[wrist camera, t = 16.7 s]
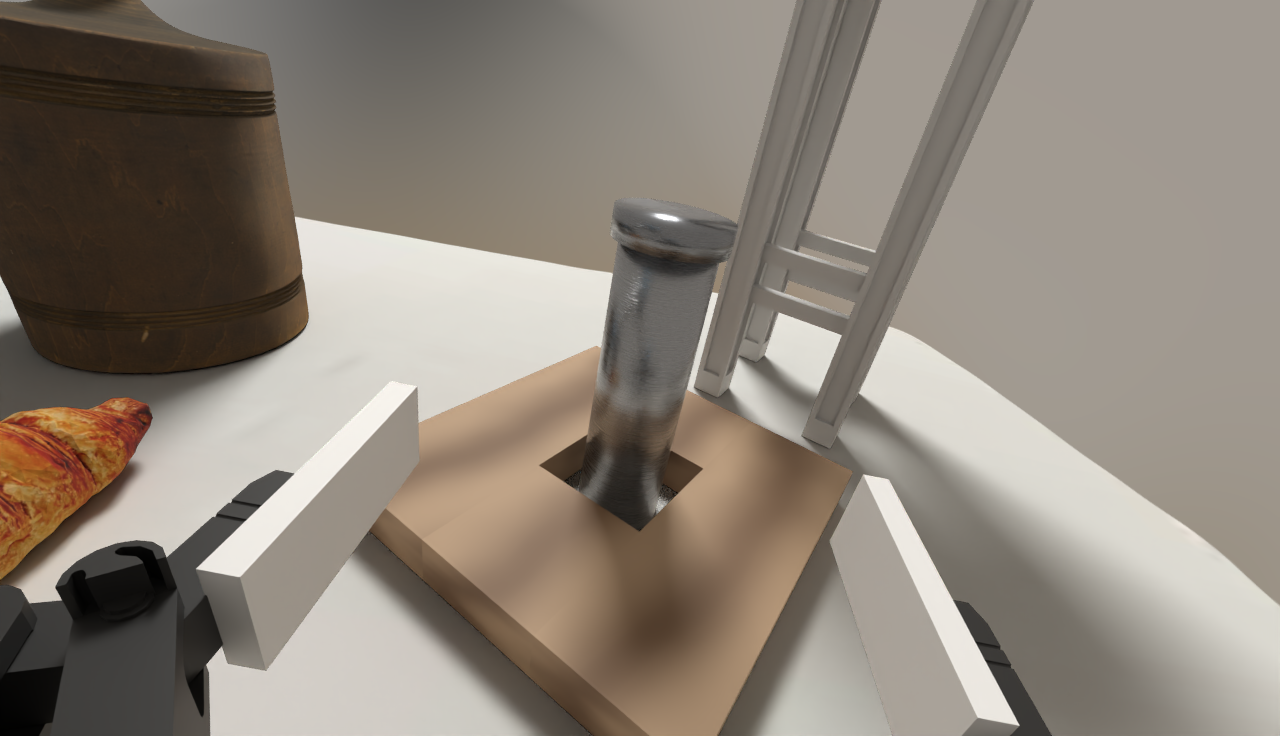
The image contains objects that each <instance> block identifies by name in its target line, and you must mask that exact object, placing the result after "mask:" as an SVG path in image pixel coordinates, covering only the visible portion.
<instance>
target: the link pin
mask: <svg viewBox="0 0 1280 736" xmlns="http://www.w3.org/2000/svg"><path fill="white" fill-rule="evenodd" d="M737 232H738V225H737V224H736V223H734V222H733V221H731V220H729V219H728V218H725V217H723V216H721V215H719V214H716V213H713V212H710V211H707V210H704V209H700V208H696V207H693V206H689V205H685V204H680V203H675V202H669V201H663V200H656V199H647V198H623V199H619V200H616V201H615V203H614V209H613V215H612V222H611V228H610V235H611V236H612V238H613V239H615V240H616V241H617V242H618V246H617V252H616V258H615V265H614V271H613V277H612V283H611V290H610V296H609V302H608V308H607V315H606V321H605V327H604V334H603V340H602V346H601V352H600V359H599V365H598V371H597V378H596V384H595V390H594V396H593V403H592V409H591V415H590V422H589V428H588V434H587V440H586V447H585V453H584V459H583V465H582V472H581V478H580V484H579V492H580V493H582V494H583V495H585V496H586V497H588V498H589V499H591V500H592V501H594V502H595V503H597V504H598V505H600V506H601V507H603V508H604V509H606V510H607V511H609V512H610V513H612V514H613V515H615V516H616V517H618V518H619V519H621V520H622V521H624V522H625V523H627V524H629V525H630V526H632V527H633V528H635V529H636V530H639V529H641V528H643V527H644V526H646V525H647V524H648V523H649V522H650V521H651V520H652V518H653V516H654V514H655V510H656V506H657V502H658V498H659V494H660V490H661V487H662V483H663V479H664V475H665V471H666V467H667V463H668V460H669V456H670V452H671V448H672V444H673V440H674V436H675V432H676V429H677V425H678V421H679V417H680V413H681V409H682V405H683V401H684V398H685V394H686V390H687V386H688V382H689V378H690V374H691V371H692V367H693V363H694V359H695V355H696V351H697V347H698V343H699V340H700V336H701V332H702V328H703V324H704V320H705V316H706V312H707V309H708V305H709V301H710V297H711V293H712V289H713V285H714V281H715V278H716V274H717V270H718V266H719V263H721V262H725V261H727V260H729V259H730V257H731V254H732V250H733V247H734V243H735V239H736V236H737Z"/></svg>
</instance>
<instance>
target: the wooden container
mask: <svg viewBox="0 0 1280 736" xmlns="http://www.w3.org/2000/svg"><path fill="white" fill-rule="evenodd" d="M273 90H274V84H273V78H272V73H271V68H270V63H269V59H268V55H267V54H265V53H263V52H259V51H256V50H252V49H249V48H245V47H240V46H236V45H231V44H227V43H222V42H218V41H213V40H209V39H205V38H202V37H198V36H195V35H192V34H189V33H186V32H184V31H181V30H179V29H177V28H175V27H173V26H171V25H169V24H168V23H166V22H165V21H163V20H162V19H160V18H159V17H158V16H156V15H155V14H154V13H153V12H152V11H151V10H150V9H149V8H148V7H147V6H146V5H144V3H143V2H142V1H141V0H32V1H27V2H0V276H1V278H2V281H3V283H4V285H5V286H6V288H7V290H8V292H9V295H10V297H11V299H12V301H13V304H14V307H15V309H16V311H17V313H18V316H19V318H20V320H21V322H22V325H23V327H24V329H25V331H26V333H27V336H28V338H29V340H30V342H31V344H32V346H33V348H34V349H35V350H36V351H37V352H38V353H39V354H41V355H42V356H43V357H45V358H48V359H49V360H51V361H53V362H56V363H59V364H61V365H65V366H69V367H73V368H79V369H84V370H91V371H99V372H111V373H160V372H174V371H184V370H191V369H198V368H205V367H210V366H216V365H220V364H225V363H230V362H234V361H238V360H241V359H245V358H248V357H251V356H255V355H257V354H260V353H263V352H266V351H268V350H271V349H273V348H276V347H278V346H280V345H282V344H284V343H285V342H287V341H289V340H290V339H292V338H293V337H294V336H296V335H297V334H298V333H299V332H300V331H301V330H302V329H303V328H304V327H305V326H306V324H307V322H308V317H309V314H308V306H307V298H306V292H305V284H304V280H303V275H302V261H301V255H300V249H299V241H298V235H297V229H296V223H295V217H294V212H293V208H292V207H293V206H292V201H291V196H290V191H289V185H288V179H287V174H286V168H285V162H284V156H283V149H282V143H281V138H280V131H279V125H278V119H277V114H276V112H275V111H274V110H275V108H276V106H275V105H274V103H275V102H276V100H275V99H274V97H275V94H274V93H273Z"/></svg>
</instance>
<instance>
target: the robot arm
mask: <svg viewBox="0 0 1280 736" xmlns="http://www.w3.org/2000/svg"><path fill="white" fill-rule="evenodd" d="M418 463H419V427H418V393H417V386H413V385H408V384H402V383H397V382H392V381H391V382H390V383H389V384H387V385H386V386H385V387H384V388H383V389H382V390H381V391H380V392H379V393H378V394H377V395H376V396H375V397H374V398H373V399H372V400H371V401H370V402H369V403H368V404H367V405H366V406H365V407H364V408H363V409H362V410H360V411H359V412H358V413H357V414H356V415H355V416H354V417H353V418H352V419H351V420H350V421H349V422H348V423H347V424H346V425H345V426H344V427H343V428H342V429H341V430H340V431H339V432H338V433H337V434H336V435H334V436H333V437H332V438H331V439H330V440H329V441H328V442H327V443H326V444H325V445H324V446H323V447H322V448H321V449H320V450H319V451H318V452H317V453H316V454H315V455H314V456H313V457H312V458H311V459H310V460H309V461H307V462H306V463H305V464H304V465H303V466H302V467H301V468H300V469H299V470H298V471H297V472H296V473H295V474H294V473H289V472H284V471H278V470H275V471H273V472H271V473H269V474H267V475H265V476H264V477H262V478H260V479H258V480H256V481H254V482H252V483H250V484H249V485H248V486H247V487H246V488H245V489H244V490H242V491H241V492H240V493H239V494H238V495H237V496H236V497H235V498H233V499H232V502H231V503H228V504H227V505H226V506H224V507H223V508H222V509H221V510H220V511H219V512H218V513H217V515H216V517H212V518H211V519H210V520H209V521H208V522H206V523H205V524H204V525H203V526H202V527H201V528H200V529H198V530H197V531H196V532H195V533H194V534H193V535H192V536H191V537H189V538H188V539H187V540H186V541H185V542H184V543H183V544H182V545H180V546H179V547H178V548H177V549H176V550H175V551H174V552H173V553H171V554H170V555H169V556H168V557H167V558H166V555H165V553H164V550H163V547H161V546H159V545H157V544H155V543H154V542H149V541H138V540H136V541H129V542H123V543H117V544H114V545H111V546H108V547H105V548H102V549H99V550H96V551H95V552H93V553H91V554H89V555H87V556H86V557H84V558H82V559H80V560H78V561H77V562H76V563H75V564H73V565H72V566H71V567H70V568H69V569H68V570H67V571H65V572H64V573H63V574H62V576H61V578H60V579H59V581H58V583H57V585H56V587H55V588H56V590H57V591H58V593H59V595H60V597H61V599H62V601H52V602H41V603H30V604H29V602H28V600H27V599H26V597H25V595H24V594H23V592H22V590H21V589H19V588H16V587H13V586H10V585H0V736H210V704H209V672H208V669H207V666H206V664H207V663H208V662H209V660H210V659H211V658H212V657H213V656H214V655H215V653H216V652H217V651H218V650H219V649H220V647H221V646H222V648H223V651H224V654H225V657H226V660H227V663H228V664H233V665H238V666H243V667H249V668H254V669H259V670H264V671H266V670H267V669H268V668H269V666H270V665H271V663H272V662H273V661H274V659H275V658H276V657H277V655H278V654H279V653H280V651H281V650H282V648H283V647H284V646H285V644H286V643H287V642H288V640H289V639H290V638H291V636H292V635H293V633H294V632H295V631H296V629H297V628H298V627H299V625H300V624H301V622H302V621H303V620H304V618H305V617H306V616H307V614H308V613H309V612H310V610H311V609H312V607H313V606H314V605H315V603H316V602H317V601H318V599H319V598H320V597H321V595H322V594H323V592H324V591H325V590H326V588H327V587H328V586H329V584H330V583H331V581H332V580H333V579H334V577H335V576H336V575H337V573H338V572H339V571H340V569H341V568H342V566H343V565H344V564H345V562H346V561H347V560H348V558H349V557H350V556H351V554H352V553H353V551H354V550H355V549H356V547H357V546H358V545H359V543H360V542H361V540H362V539H363V538H364V536H365V535H366V534H367V532H368V531H369V530H370V528H371V527H372V525H373V524H374V523H375V521H376V520H377V519H378V517H379V516H380V515H381V513H382V512H383V510H384V509H385V508H386V506H387V505H388V504H389V502H390V501H391V499H392V498H393V497H394V495H395V494H396V493H397V491H398V490H399V489H400V487H401V486H402V484H403V483H404V482H405V480H406V479H407V478H408V476H409V475H410V474H411V472H412V471H413V469H414V468H415V467H416V465H417V464H418ZM830 544H831V547H832V550H833V553H834V556H835V559H836V562H837V566H838V569H839V572H840V575H841V578H842V581H843V584H844V587H845V590H846V593H847V596H848V599H849V603H850V606H851V609H852V612H853V615H854V618H855V621H856V624H857V627H858V630H859V633H860V637H861V640H862V643H863V646H864V649H865V652H866V655H867V658H868V661H869V664H870V667H871V670H872V674H873V677H874V680H875V683H876V686H877V689H878V692H879V695H880V698H881V701H882V704H883V707H884V711H885V714H886V717H887V720H888V723H889V726H890V729H891V732H892V735H893V736H1052V735H1051V734H1050V732H1049V730H1048V728H1047V727H1046V725H1045V723H1044V721H1043V720H1042V718H1041V716H1040V714H1039V713H1038V711H1037V709H1036V707H1035V706H1034V704H1033V702H1032V700H1031V699H1030V697H1029V695H1028V693H1027V692H1026V690H1025V688H1024V686H1023V685H1022V683H1021V681H1020V679H1019V678H1018V676H1017V674H1016V672H1015V671H1014V669H1011V664H1010V662H1009V660H1008V659H1007V657H1006V655H1005V653H1004V652H1003V651H1002V650H1000V645H999V643H998V641H997V639H996V638H995V636H994V634H993V632H992V631H991V629H990V627H989V625H988V624H987V623H986V622H985V621H984V619H983V618H982V617H981V616H980V615H979V614H978V613H977V612H976V611H975V610H974V609H973V608H972V606H971V605H970V604H969V603H966V602H961V601H956V600H953V599H952V597H951V596H950V594H949V592H948V590H947V588H946V586H945V584H944V582H943V581H942V579H941V577H940V575H939V573H938V571H937V569H936V567H935V565H934V564H933V562H932V560H931V558H930V556H929V554H928V552H927V550H926V549H925V547H924V545H923V543H922V541H921V539H920V537H919V535H918V533H917V532H916V530H915V528H914V526H913V524H912V522H911V520H910V518H909V517H908V515H907V513H906V511H905V509H904V507H903V505H902V503H901V501H900V500H899V498H898V496H897V494H896V492H895V490H894V488H893V486H892V485H891V483H890V481H889V479H884V478H879V477H874V476H869V475H864V474H863V476H862V478H861V480H860V482H859V484H858V486H857V488H856V490H855V492H854V494H853V496H852V498H851V500H850V502H849V504H848V506H847V508H846V510H845V512H844V513H843V515H842V517H841V519H840V521H839V523H838V525H837V527H836V529H835V531H834V533H833V535H832V537H831V539H830Z"/></svg>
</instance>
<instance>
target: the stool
mask: <svg viewBox="0 0 1280 736" xmlns="http://www.w3.org/2000/svg"><path fill="white" fill-rule="evenodd" d="M881 1H882V0H797V1H796V4H795V8H794V12H793V16H792V20H791V23H790V27H789V31H788V35H787V38H786V42H785V46H784V50H783V54H782V57H781V61H780V65H779V68H778V72H777V76H776V80H775V84H774V87H773V91H772V95H771V99H770V102H769V106H768V110H767V114H766V117H765V122H764V125H763V129H762V132H761V136H760V140H759V144H758V148H757V151H756V155H755V159H754V163H753V166H752V170H751V174H750V178H749V182H748V185H747V189H746V193H745V197H744V200H743V204H742V208H741V211H740V215H739V219H738V223H737V225H738V232H737V236H736V239H735V243H734V247H733V250H732V254H731V257H730V259H729V260H727V264H726V268H725V272H724V276H723V279H722V283H721V287H720V291H719V294H718V298H717V302H716V305H715V309H714V313H713V317H712V321H711V324H710V328H709V332H708V336H707V339H706V343H705V347H704V351H703V354H702V358H701V362H700V366H699V369H698V373H697V377H696V381H695V384H694V387H695V388H697V389H699V390H702V391H704V392H706V393H708V394H710V395H713V396H715V397H717V398H718V397H719V396H720V395H721V394H723V393H724V392H725V391H726V390H727V389H728V388H729V386H730V383H731V379H732V376H733V373H734V369H735V366H736V363H737V359H738V356H739V355H740V356H742V357H744V358H747V359H749V360H752V361H754V362H757V361H758V360H760V359H761V358H762V357H763V356H764V355H765V352H766V349H767V346H768V343H769V340H770V337H771V334H772V331H773V328H774V325H775V322H776V319H777V316H778V313H779V312H780V313H782V314H785V315H788V316H791V317H793V318H796V319H799V320H802V321H804V322H807V323H810V324H813V325H815V326H818V327H821V328H824V329H827V330H829V331H832V332H835V333H838V334H840V335H842V337H841V339H840V342H839V344H838V347H837V349H836V352H835V354H834V357H833V359H832V362H831V364H830V367H829V369H828V372H827V374H826V376H825V379H824V381H823V384H822V386H821V389H820V391H819V394H818V396H817V399H816V401H815V404H814V406H813V409H812V411H811V414H810V416H809V419H808V421H807V424H806V426H805V429H804V431H803V434H802V436H803V437H805V438H807V439H810V440H812V441H814V442H816V443H818V444H821V445H823V446H825V447H827V448H829V449H830V448H831V447H832V445H833V443H834V441H835V439H836V437H837V435H838V433H839V431H840V428H841V426H842V424H843V421H844V419H845V417H846V415H847V412H848V410H849V408H850V406H851V403H852V402H854V401H855V399H856V398H857V396H858V394H859V392H860V389H861V387H862V385H863V383H864V380H865V378H866V376H867V374H868V372H869V369H870V367H871V365H872V363H873V360H874V358H875V356H876V354H877V351H878V349H879V347H880V345H881V342H882V340H883V338H884V336H885V333H886V331H887V329H888V327H889V324H890V322H891V320H892V318H893V315H894V313H895V311H896V309H897V307H898V304H899V302H900V300H901V298H902V295H903V293H904V291H905V289H906V286H907V284H908V282H909V280H910V277H911V275H912V273H913V271H914V268H915V266H916V264H917V262H918V259H919V257H920V255H921V253H922V251H923V248H924V246H925V244H926V242H927V239H928V237H929V235H930V232H931V230H932V228H933V226H934V223H935V221H936V219H937V217H938V215H939V212H940V210H941V208H942V206H943V203H944V201H945V199H946V197H947V194H948V192H949V190H950V188H951V185H952V183H953V181H954V179H955V177H956V174H957V172H958V170H959V167H960V165H961V163H962V161H963V159H964V156H965V154H966V152H967V150H968V147H969V145H970V143H971V141H972V138H973V136H974V134H975V132H976V130H977V127H978V125H979V123H980V121H981V118H982V116H983V114H984V112H985V109H986V107H987V105H988V102H989V100H990V98H991V96H992V94H993V91H994V89H995V87H996V85H997V82H998V80H999V78H1000V76H1001V73H1002V71H1003V69H1004V67H1005V64H1006V62H1007V60H1008V58H1009V56H1010V53H1011V51H1012V49H1013V47H1014V44H1015V42H1016V40H1017V38H1018V35H1019V33H1020V31H1021V28H1022V26H1023V24H1024V22H1025V19H1026V17H1027V15H1028V13H1029V11H1030V9H1031V6H1032V4H1033V2H1034V0H977V2H976V4H975V7H974V10H973V12H972V14H971V17H970V19H969V22H968V24H967V27H966V29H965V32H964V34H963V36H962V39H961V42H960V44H959V46H958V49H957V52H956V54H955V56H954V59H953V61H952V64H951V66H950V69H949V71H948V74H947V76H946V79H945V81H944V84H943V86H942V89H941V91H940V94H939V96H938V99H937V101H936V104H935V106H934V108H933V111H932V114H931V116H930V118H929V121H928V123H927V126H926V128H925V131H924V133H923V136H922V138H921V141H920V143H919V146H918V148H917V151H916V153H915V156H914V158H913V161H912V163H911V166H910V168H909V170H908V173H907V175H906V178H905V180H904V183H903V185H902V188H901V190H900V193H899V195H898V198H897V201H896V203H895V205H894V208H893V210H892V213H891V215H890V218H889V220H888V223H887V225H886V228H885V230H884V233H883V235H882V237H881V240H880V242H879V245H878V248H877V250H876V251H875V250H871V249H868V248H865V247H861V246H858V245H854V244H851V243H848V242H844V241H841V240H837V239H834V238H830V237H827V236H823V235H820V234H816V233H813V232H809V231H806V228H807V225H808V222H809V219H810V216H811V213H812V210H813V207H814V203H815V201H816V198H817V195H818V192H819V189H820V186H821V183H822V179H823V177H824V174H825V171H826V168H827V164H828V161H829V158H830V155H831V152H832V149H833V146H834V143H835V140H836V137H837V134H838V131H839V128H840V125H841V122H842V119H843V116H844V113H845V110H846V107H847V104H848V101H849V98H850V95H851V92H852V89H853V86H854V83H855V80H856V77H857V74H858V71H859V67H860V65H861V62H862V58H863V56H864V53H865V49H866V46H867V43H868V40H869V37H870V34H871V31H872V28H873V25H874V22H875V19H876V16H877V13H878V10H879V7H880V4H881ZM800 246H803V247H806V248H809V249H813V250H816V251H819V252H822V253H826V254H829V255H832V256H836V257H839V258H842V259H846V260H849V261H852V262H856V263H859V264H862V265H866V266H869V270H868V272H867V273H864V272H861V271H858V270H855V269H851V268H848V267H844V266H842V265H838V264H835V263H832V262H828V261H825V260H822V259H819V258H815V257H812V256H809V255H806V254H803V253H799V249H800ZM789 281H792V282H795V283H798V284H801V285H804V286H807V287H810V288H814V289H816V290H820V291H822V292H825V293H828V294H831V295H834V296H837V297H840V298H843V299H846V300H850V301H852V302H855V305H854V307H853V310H852V312H851V315H850V316H848V315H845V314H843V313H840V312H837V311H834V310H831V309H828V308H825V307H822V306H820V305H817V304H814V303H811V302H808V301H805V300H802V299H799V298H796V297H793V296H790V295H788V294H785V291H786V288H787V286H788V282H789Z"/></svg>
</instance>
